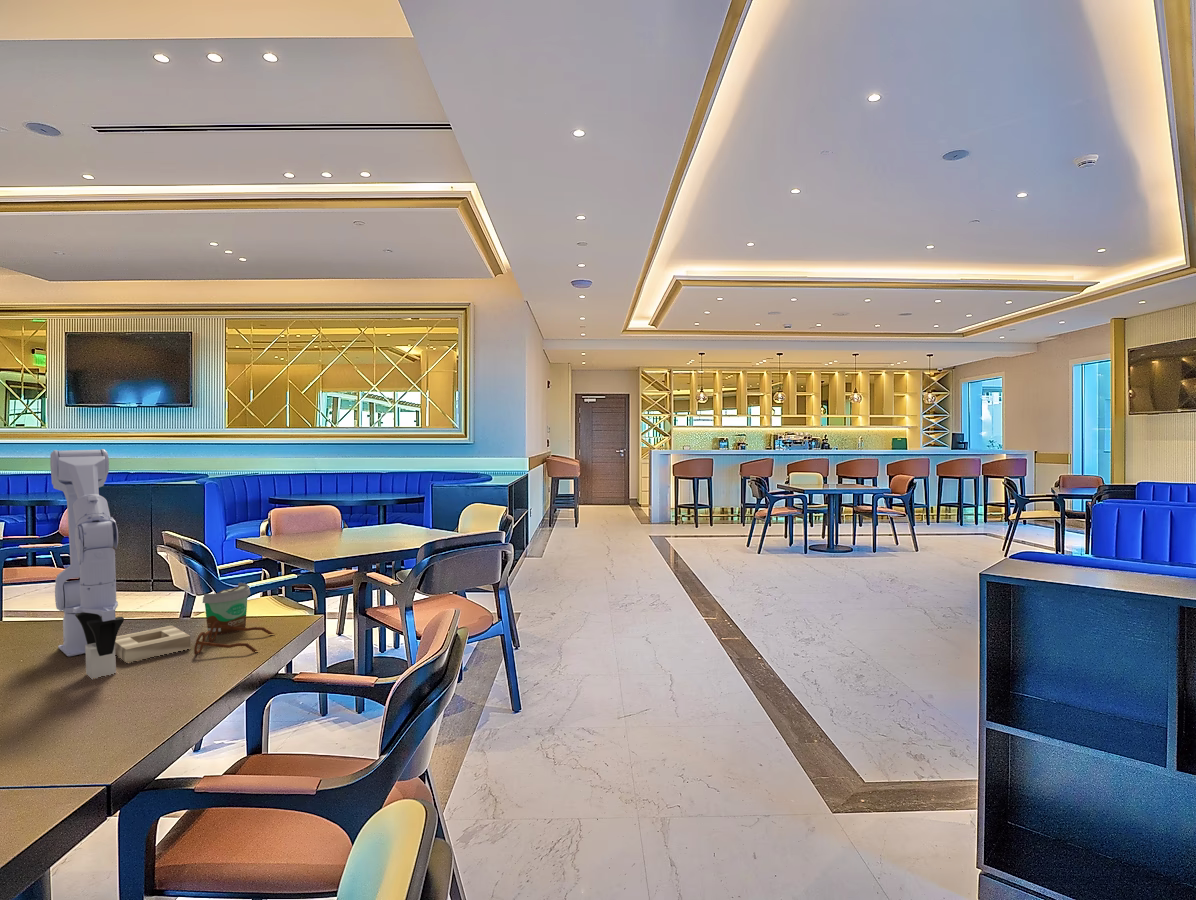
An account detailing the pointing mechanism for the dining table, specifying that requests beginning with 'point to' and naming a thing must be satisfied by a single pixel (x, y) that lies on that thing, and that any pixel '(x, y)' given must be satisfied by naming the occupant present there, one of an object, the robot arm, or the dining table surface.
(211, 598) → the food container
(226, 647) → the glasses
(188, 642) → the holder
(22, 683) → the dining table surface
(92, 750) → the dining table surface
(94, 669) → the connector plug
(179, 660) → the dining table surface
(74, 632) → the robot arm
